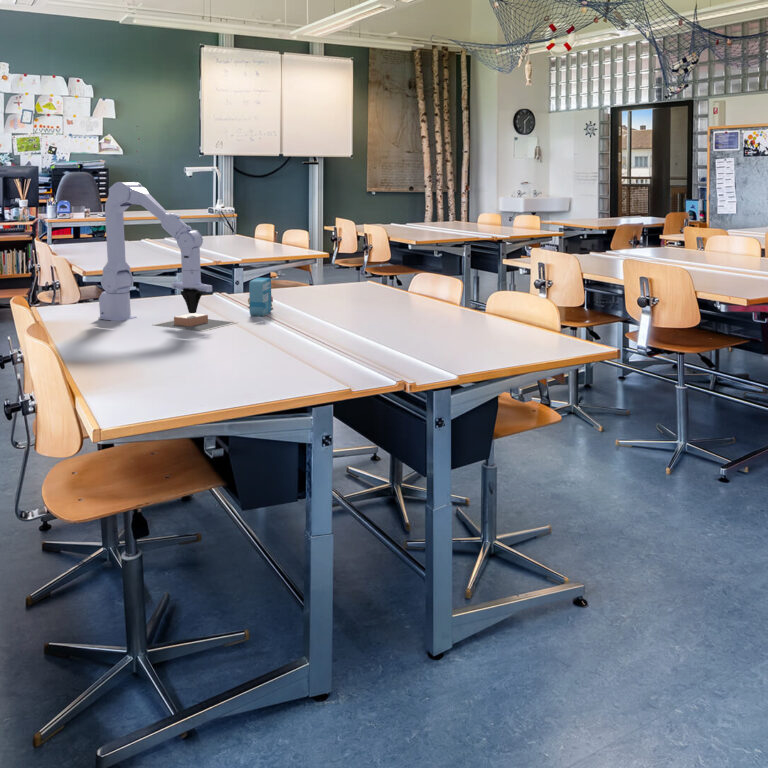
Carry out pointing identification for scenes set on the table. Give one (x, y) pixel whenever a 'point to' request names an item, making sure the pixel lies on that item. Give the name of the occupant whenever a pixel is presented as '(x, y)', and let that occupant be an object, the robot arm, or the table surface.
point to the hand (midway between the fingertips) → (192, 312)
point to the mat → (200, 327)
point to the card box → (190, 319)
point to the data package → (260, 296)
